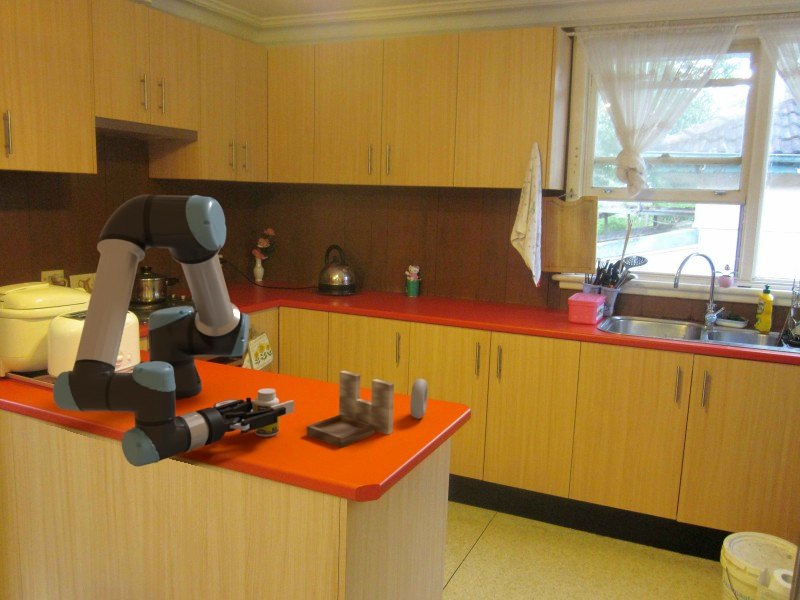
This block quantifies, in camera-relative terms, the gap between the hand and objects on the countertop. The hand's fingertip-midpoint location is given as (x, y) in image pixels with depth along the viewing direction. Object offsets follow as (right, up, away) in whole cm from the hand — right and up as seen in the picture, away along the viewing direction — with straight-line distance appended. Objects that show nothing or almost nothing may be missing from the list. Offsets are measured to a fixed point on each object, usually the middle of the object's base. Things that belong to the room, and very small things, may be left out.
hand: (283, 403), depth 154 cm
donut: (+32, -6, +11) cm, 34 cm away
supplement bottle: (-3, -7, -3) cm, 8 cm away
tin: (-15, -4, +4) cm, 15 cm away
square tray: (+14, -7, -2) cm, 15 cm away
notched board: (+19, -6, +4) cm, 20 cm away
